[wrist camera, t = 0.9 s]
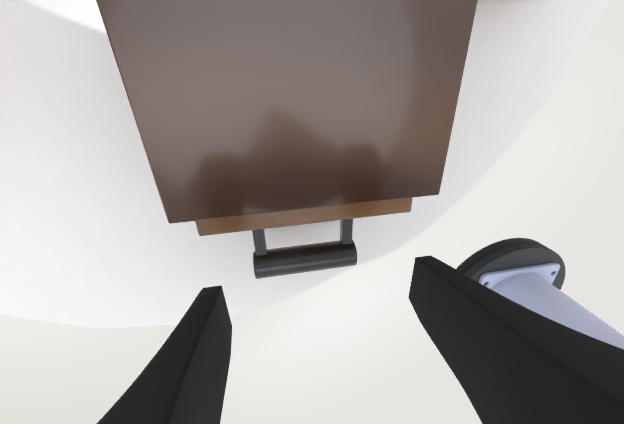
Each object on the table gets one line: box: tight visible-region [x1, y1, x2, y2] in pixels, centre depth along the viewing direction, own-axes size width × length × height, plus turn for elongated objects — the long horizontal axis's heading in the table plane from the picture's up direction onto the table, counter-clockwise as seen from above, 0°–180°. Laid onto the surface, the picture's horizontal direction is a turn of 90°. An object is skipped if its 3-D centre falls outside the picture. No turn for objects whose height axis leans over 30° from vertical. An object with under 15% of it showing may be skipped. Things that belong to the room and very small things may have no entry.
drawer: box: [195, 197, 412, 279], centre depth 13 cm, size 16×9×6 cm, turn 2°
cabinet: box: [96, 0, 477, 223], centre depth 11 cm, size 13×11×8 cm
